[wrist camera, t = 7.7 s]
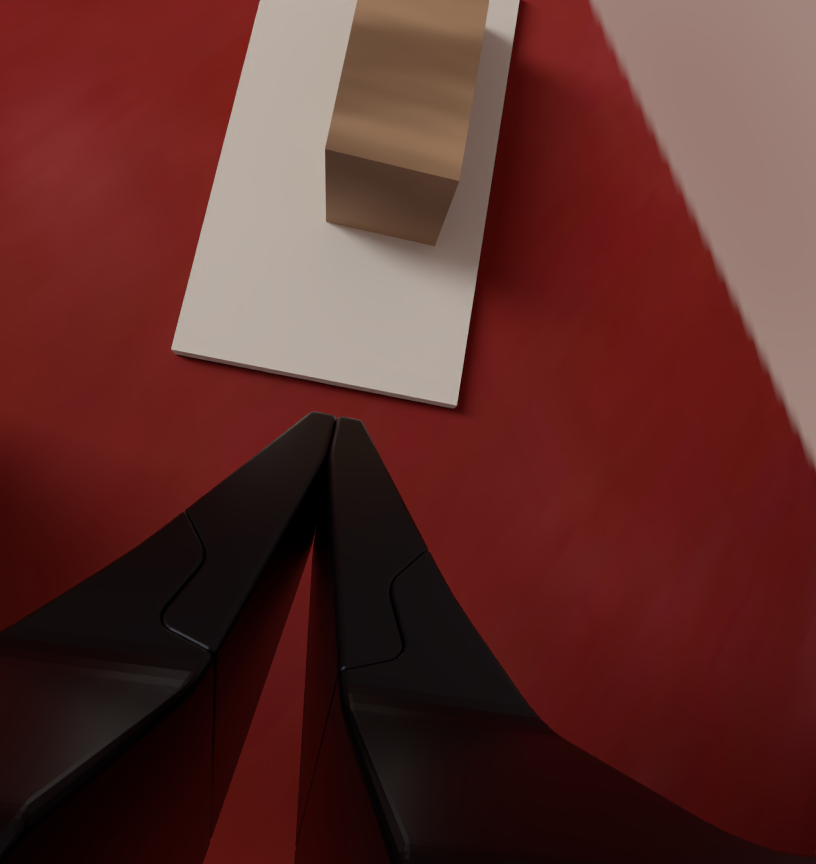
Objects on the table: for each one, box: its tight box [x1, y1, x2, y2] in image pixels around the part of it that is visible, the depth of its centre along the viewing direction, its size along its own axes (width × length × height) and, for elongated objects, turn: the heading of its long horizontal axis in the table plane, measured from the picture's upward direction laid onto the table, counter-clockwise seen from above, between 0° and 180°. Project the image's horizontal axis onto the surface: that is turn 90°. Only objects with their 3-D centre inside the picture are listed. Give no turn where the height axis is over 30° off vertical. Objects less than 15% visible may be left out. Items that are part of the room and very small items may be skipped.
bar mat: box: [171, 0, 520, 409], centre depth 24 cm, size 20×11×1 cm, turn 170°
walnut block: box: [325, 0, 489, 246], centre depth 22 cm, size 4×4×11 cm
